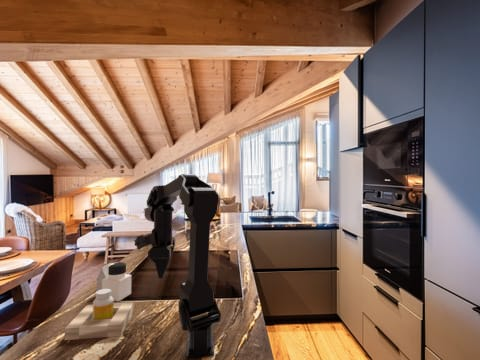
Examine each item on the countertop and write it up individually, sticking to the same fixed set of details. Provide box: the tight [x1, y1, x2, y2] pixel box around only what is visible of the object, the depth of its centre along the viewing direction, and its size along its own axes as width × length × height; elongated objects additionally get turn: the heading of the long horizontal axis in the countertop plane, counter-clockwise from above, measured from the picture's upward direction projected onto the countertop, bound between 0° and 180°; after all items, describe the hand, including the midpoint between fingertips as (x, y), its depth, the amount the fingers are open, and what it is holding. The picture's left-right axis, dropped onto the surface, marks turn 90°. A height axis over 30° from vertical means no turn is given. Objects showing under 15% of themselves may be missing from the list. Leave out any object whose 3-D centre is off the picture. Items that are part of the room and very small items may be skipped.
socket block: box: [64, 301, 135, 341], centre depth 77 cm, size 14×14×3 cm
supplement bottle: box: [92, 289, 115, 320], centre depth 77 cm, size 5×5×10 cm
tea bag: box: [96, 262, 113, 292], centre depth 102 cm, size 4×7×10 cm, turn 178°
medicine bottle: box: [102, 261, 132, 302], centre depth 97 cm, size 7×7×12 cm
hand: (162, 273), depth 86 cm, fingers open, 9 cm apart
